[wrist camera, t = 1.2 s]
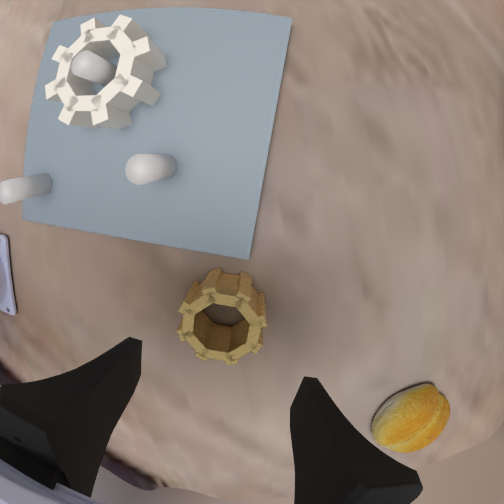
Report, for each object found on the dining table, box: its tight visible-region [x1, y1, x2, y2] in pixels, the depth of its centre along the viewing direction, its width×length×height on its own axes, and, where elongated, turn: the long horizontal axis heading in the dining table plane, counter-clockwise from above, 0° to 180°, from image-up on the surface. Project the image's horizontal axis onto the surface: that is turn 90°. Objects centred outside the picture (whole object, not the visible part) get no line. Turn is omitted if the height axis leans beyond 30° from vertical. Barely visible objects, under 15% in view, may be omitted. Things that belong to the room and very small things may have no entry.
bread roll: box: [371, 384, 450, 453], centre depth 24 cm, size 8×9×4 cm
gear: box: [45, 15, 167, 129], centre depth 15 cm, size 7×7×3 cm
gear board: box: [0, 8, 292, 260], centre depth 15 cm, size 18×16×6 cm
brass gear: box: [177, 268, 267, 365], centre depth 20 cm, size 6×6×3 cm
